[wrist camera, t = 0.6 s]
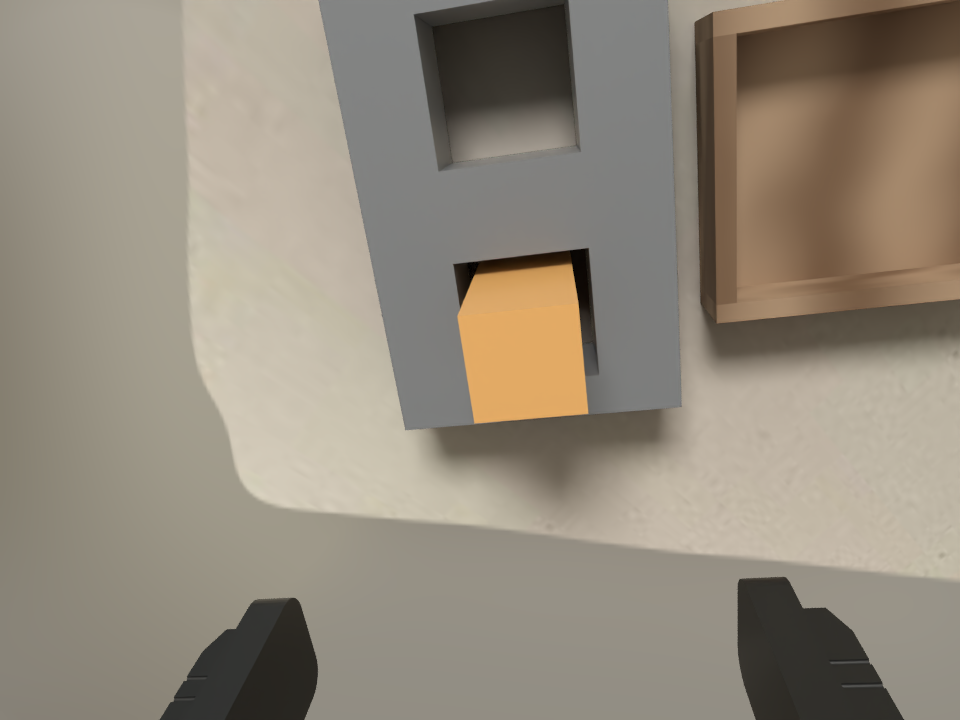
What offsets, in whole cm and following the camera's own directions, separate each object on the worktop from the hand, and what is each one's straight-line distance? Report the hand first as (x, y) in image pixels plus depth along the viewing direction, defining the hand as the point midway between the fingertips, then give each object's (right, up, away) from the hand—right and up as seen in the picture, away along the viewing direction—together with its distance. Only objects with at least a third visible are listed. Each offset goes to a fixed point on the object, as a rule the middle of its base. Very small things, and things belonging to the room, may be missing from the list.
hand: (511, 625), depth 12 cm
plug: (+2, +8, +19) cm, 20 cm away
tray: (+14, +13, +15) cm, 25 cm away
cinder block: (+1, +12, +17) cm, 21 cm away
